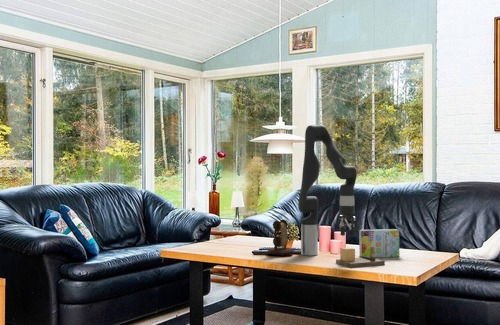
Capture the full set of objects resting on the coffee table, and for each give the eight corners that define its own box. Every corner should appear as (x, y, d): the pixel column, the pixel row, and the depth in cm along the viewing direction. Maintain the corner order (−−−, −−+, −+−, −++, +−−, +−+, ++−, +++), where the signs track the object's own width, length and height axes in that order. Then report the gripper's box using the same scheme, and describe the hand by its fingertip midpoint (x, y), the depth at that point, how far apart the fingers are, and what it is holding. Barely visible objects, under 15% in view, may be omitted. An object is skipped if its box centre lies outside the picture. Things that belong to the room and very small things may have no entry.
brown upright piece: (284, 258, 303) (283, 221, 303) (262, 255, 312) (262, 220, 312) (298, 254, 314) (298, 219, 315) (277, 252, 323) (276, 218, 324)
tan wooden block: (340, 259, 284) (340, 247, 284) (349, 258, 286) (349, 247, 286) (346, 261, 279) (345, 249, 279) (355, 260, 281) (355, 248, 281)
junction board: (336, 263, 284) (335, 245, 284) (368, 260, 292) (368, 243, 292) (350, 267, 271) (350, 249, 271) (384, 264, 279) (384, 247, 279)
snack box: (396, 255, 310) (396, 228, 310) (399, 257, 304) (399, 229, 304) (359, 256, 309) (359, 229, 309) (361, 257, 303) (361, 230, 303)
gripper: (333, 204, 288) (333, 235, 287) (348, 205, 275) (348, 238, 274) (345, 203, 291) (346, 234, 290) (361, 205, 277) (361, 237, 277)
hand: (347, 236), depth 282 cm, fingers open, 8 cm apart
